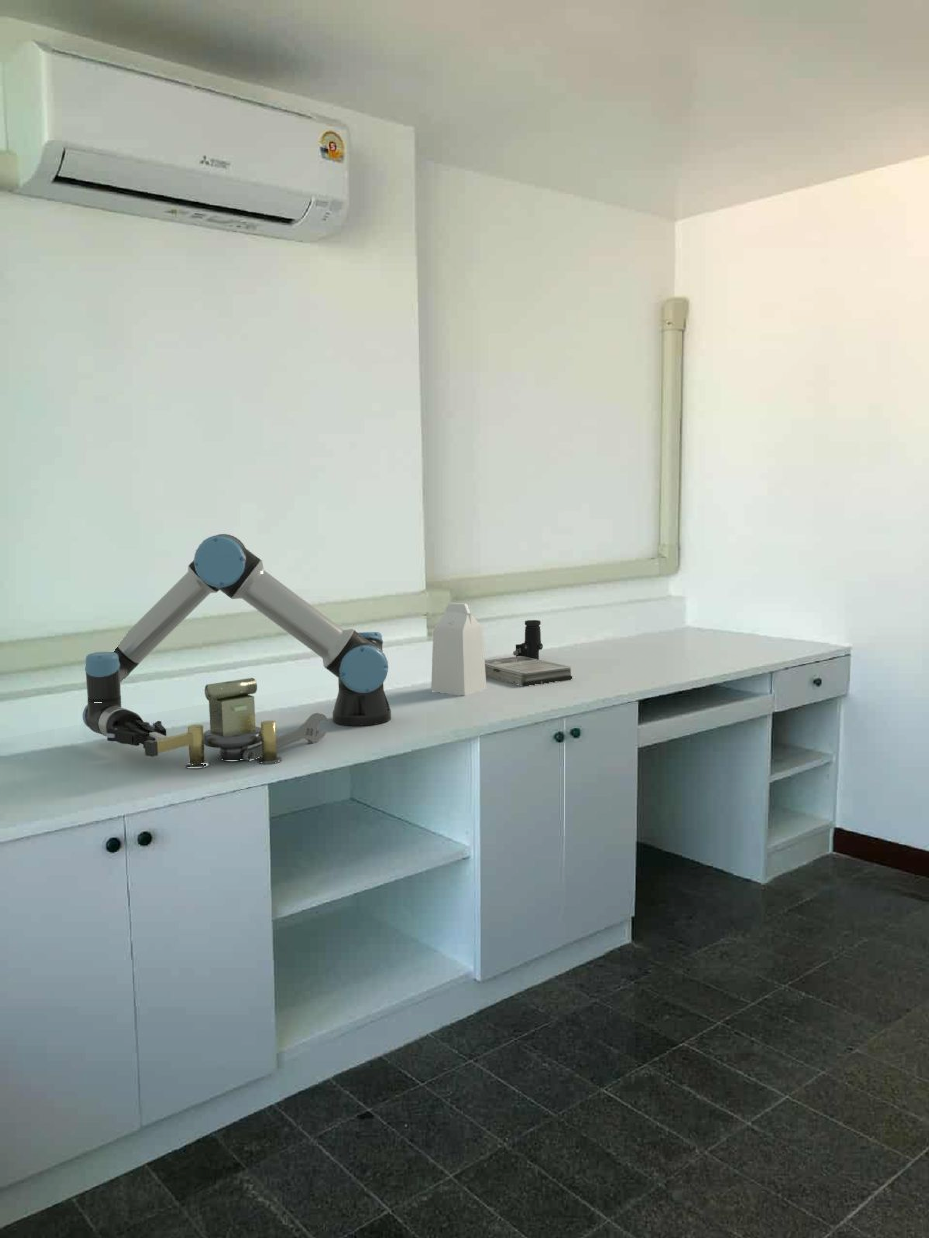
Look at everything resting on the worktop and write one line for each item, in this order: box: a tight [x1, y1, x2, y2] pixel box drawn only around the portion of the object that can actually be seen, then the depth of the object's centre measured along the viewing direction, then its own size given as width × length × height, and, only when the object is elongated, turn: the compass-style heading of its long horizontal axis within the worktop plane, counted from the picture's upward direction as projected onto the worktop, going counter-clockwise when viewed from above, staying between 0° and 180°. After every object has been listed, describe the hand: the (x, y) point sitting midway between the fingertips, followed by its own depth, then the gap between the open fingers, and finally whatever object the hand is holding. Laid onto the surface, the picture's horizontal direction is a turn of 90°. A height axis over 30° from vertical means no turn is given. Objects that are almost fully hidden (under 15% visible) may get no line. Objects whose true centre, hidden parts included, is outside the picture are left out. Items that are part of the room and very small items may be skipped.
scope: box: [512, 619, 544, 660], centre depth 350 cm, size 8×14×10 cm
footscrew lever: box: [144, 724, 206, 764], centre depth 217 cm, size 14×3×8 cm, turn 144°
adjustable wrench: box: [243, 712, 328, 761], centre depth 234 cm, size 25×6×2 cm
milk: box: [430, 602, 487, 696], centre depth 299 cm, size 12×12×26 cm
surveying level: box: [184, 677, 283, 767], centre depth 225 cm, size 19×21×18 cm
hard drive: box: [485, 655, 573, 687], centre depth 320 cm, size 18×27×4 cm
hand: (165, 743), depth 216 cm, fingers closed
